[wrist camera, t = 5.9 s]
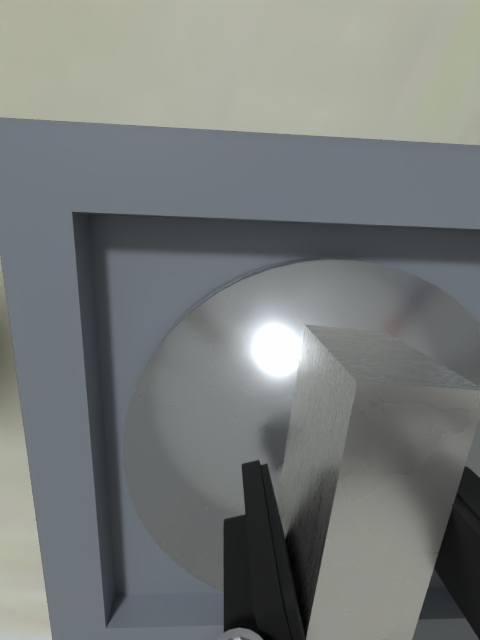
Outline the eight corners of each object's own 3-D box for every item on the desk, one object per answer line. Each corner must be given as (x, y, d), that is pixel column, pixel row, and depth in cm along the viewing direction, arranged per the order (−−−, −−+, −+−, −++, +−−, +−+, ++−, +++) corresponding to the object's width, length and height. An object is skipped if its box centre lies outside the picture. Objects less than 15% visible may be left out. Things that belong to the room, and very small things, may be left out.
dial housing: (600, 165, 12) (718, 143, 9) (480, 593, 17) (532, 665, 14) (22, 132, 11) (-48, 96, 8) (74, 603, 16) (41, 684, 13)
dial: (136, 237, 10) (52, 238, 5) (530, 277, 11) (788, 310, 6) (128, 570, 13) (71, 775, 8) (437, 579, 14) (555, 767, 9)
